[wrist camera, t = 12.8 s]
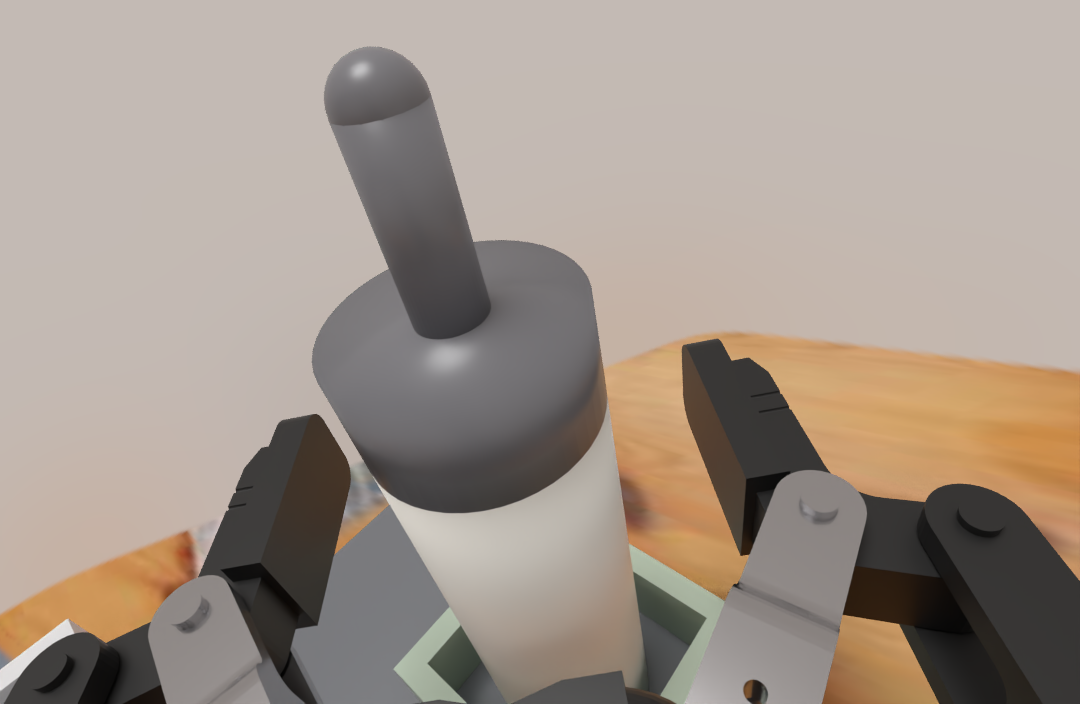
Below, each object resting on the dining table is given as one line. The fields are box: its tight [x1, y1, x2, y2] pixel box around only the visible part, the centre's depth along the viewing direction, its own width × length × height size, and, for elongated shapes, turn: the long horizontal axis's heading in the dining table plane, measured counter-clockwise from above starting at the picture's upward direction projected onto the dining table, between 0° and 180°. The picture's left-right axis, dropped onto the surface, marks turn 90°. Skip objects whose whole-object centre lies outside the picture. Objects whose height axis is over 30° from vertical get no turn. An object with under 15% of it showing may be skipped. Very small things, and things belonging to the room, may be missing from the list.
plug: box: [312, 47, 649, 704], centre depth 12 cm, size 4×4×18 cm
